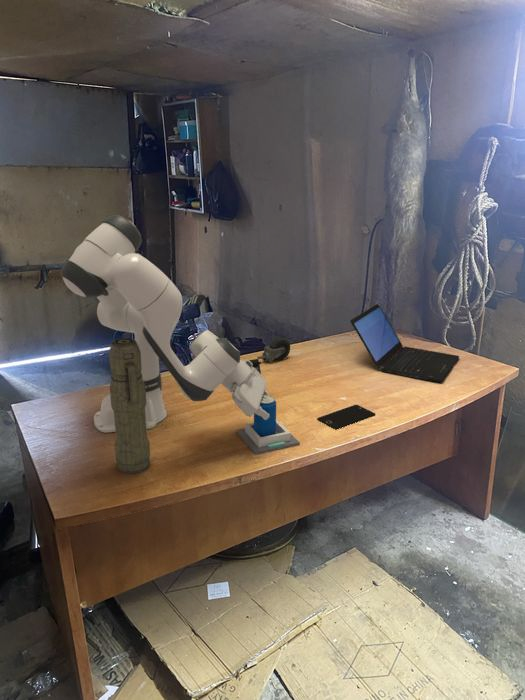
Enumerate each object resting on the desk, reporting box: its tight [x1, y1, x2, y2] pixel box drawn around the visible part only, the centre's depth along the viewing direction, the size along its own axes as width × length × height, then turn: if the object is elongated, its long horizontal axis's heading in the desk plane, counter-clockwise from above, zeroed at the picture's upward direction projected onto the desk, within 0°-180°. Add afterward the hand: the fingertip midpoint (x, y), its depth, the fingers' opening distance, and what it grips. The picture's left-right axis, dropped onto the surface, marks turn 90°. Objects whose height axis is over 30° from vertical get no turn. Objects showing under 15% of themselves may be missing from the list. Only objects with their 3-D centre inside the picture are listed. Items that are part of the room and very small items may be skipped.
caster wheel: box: [256, 337, 291, 364], centre depth 218 cm, size 6×10×15 cm
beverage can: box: [253, 394, 277, 437], centre depth 156 cm, size 6×6×12 cm
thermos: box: [108, 337, 151, 475], centre depth 137 cm, size 9×12×35 cm
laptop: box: [350, 303, 460, 384], centre depth 217 cm, size 33×38×19 cm
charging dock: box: [236, 418, 301, 455], centre depth 157 cm, size 14×14×3 cm
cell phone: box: [316, 404, 376, 431], centre depth 171 cm, size 9×18×1 cm, turn 126°
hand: (270, 410), depth 155 cm, fingers open, 8 cm apart
